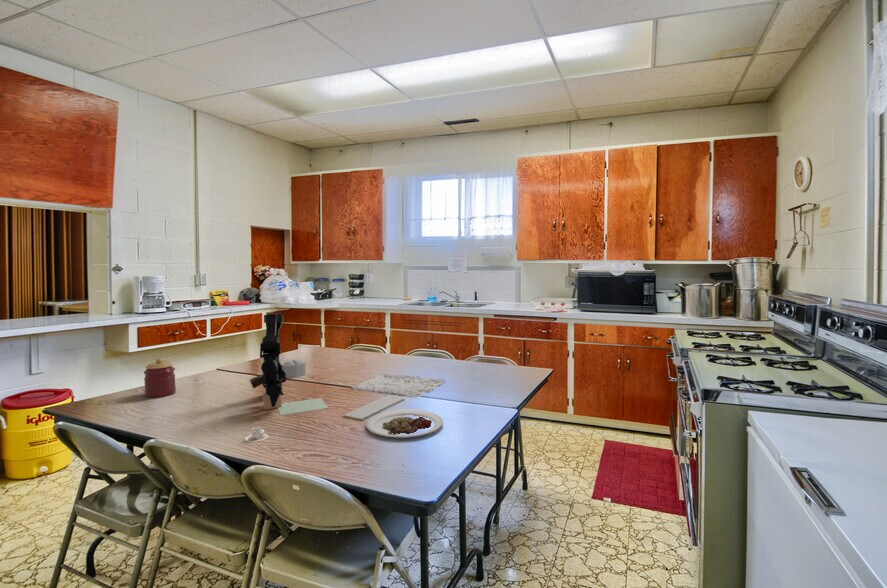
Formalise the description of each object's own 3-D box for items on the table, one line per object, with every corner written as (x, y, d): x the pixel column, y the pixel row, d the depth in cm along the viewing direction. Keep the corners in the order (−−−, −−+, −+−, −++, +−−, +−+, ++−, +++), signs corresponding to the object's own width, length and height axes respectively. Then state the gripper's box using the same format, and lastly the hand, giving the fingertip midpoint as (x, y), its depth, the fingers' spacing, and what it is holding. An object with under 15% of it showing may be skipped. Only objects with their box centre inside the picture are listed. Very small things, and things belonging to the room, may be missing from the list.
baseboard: (339, 417, 191) (361, 422, 185) (338, 410, 191) (361, 415, 185) (383, 397, 218) (404, 401, 212) (383, 391, 218) (404, 395, 212)
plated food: (355, 421, 185) (355, 413, 185) (421, 409, 200) (421, 401, 200) (383, 448, 159) (383, 438, 159) (457, 431, 174) (457, 423, 174)
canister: (149, 391, 227) (147, 356, 226) (178, 389, 231) (177, 354, 230) (141, 399, 215) (139, 362, 214) (172, 396, 219) (170, 360, 218)
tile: (264, 408, 200) (262, 393, 200) (281, 405, 204) (279, 389, 203) (264, 410, 199) (262, 394, 198) (281, 406, 202) (279, 391, 201)
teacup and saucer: (258, 432, 174) (257, 422, 174) (274, 435, 171) (274, 425, 171) (239, 441, 166) (239, 430, 166) (256, 444, 163) (256, 433, 163)
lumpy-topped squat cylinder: (308, 374, 261) (308, 359, 261) (289, 379, 250) (289, 363, 250) (296, 371, 267) (295, 357, 266) (277, 376, 256) (276, 361, 255)
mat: (275, 405, 205) (275, 404, 205) (321, 399, 214) (321, 398, 214) (280, 416, 191) (280, 414, 191) (328, 408, 200) (328, 407, 200)
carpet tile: (445, 383, 243) (445, 379, 243) (420, 399, 215) (420, 395, 215) (382, 376, 259) (381, 372, 259) (350, 390, 231) (350, 386, 231)
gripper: (249, 366, 204) (250, 400, 206) (252, 375, 188) (253, 412, 189) (275, 363, 209) (276, 397, 211) (281, 372, 193) (282, 408, 194)
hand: (272, 403), depth 201 cm, fingers open, 9 cm apart
